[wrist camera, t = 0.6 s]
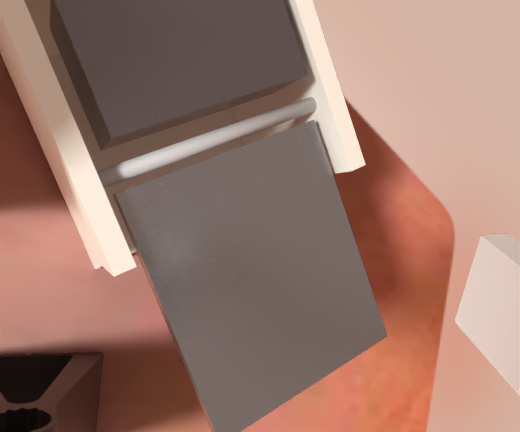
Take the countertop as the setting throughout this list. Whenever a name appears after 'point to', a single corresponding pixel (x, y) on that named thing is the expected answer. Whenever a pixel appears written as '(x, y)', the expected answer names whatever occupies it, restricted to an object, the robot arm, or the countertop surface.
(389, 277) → the countertop surface
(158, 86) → the trapdoor
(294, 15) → the frame
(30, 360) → the phone stand
